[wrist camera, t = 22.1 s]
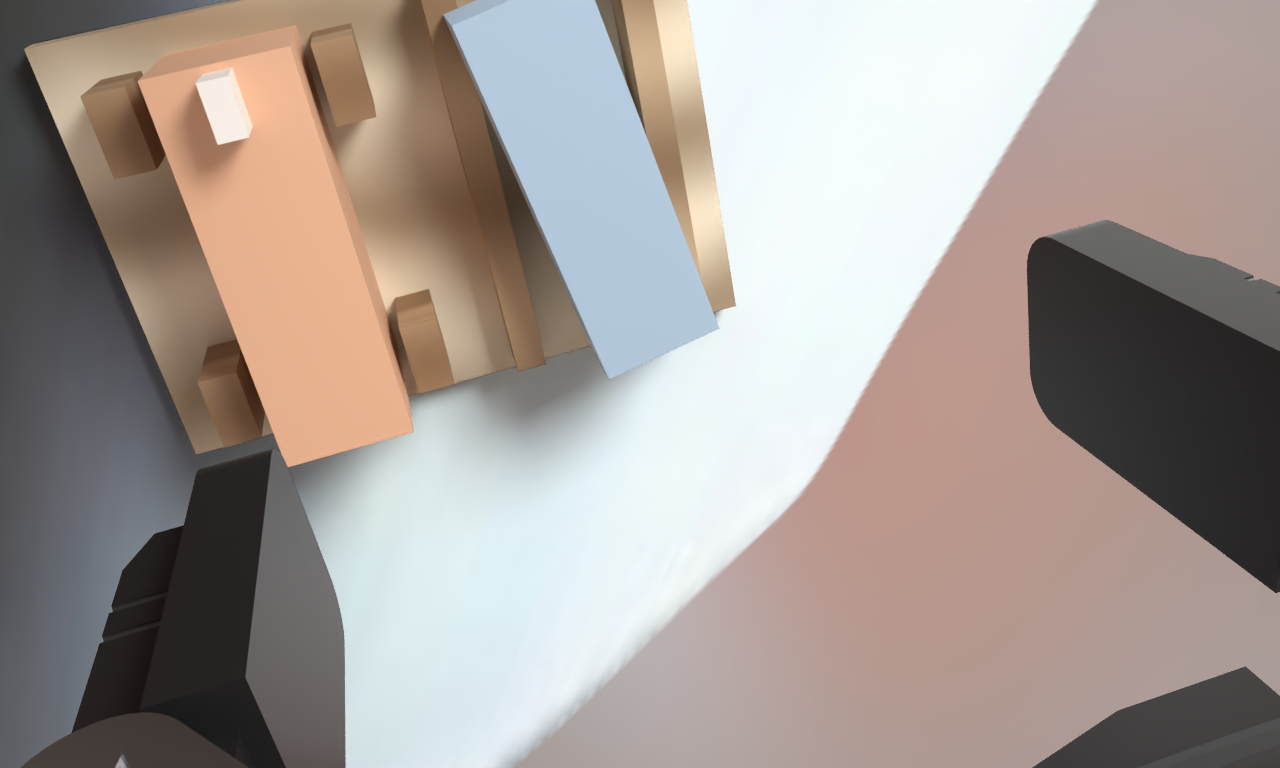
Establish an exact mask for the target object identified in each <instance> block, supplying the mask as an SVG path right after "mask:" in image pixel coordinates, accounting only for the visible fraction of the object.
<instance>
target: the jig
mask: <svg viewBox="0 0 1280 768" xmlns="http://www.w3.org/2000/svg"><path fill="white" fill-rule="evenodd" d="M473 1H475V0H232V1H227V2H223V3H218V4H214V5H209V6H204V7H200V8H195V9H191V10H186V11H182V12H177V13H173V14H168V15H164V16H159V17H155V18H150V19H146V20H141V21H136V22H132V23H127V24H123V25H118V26H114V27H109V28H105V29H100V30H96V31H91V32H87V33H82V34H78V35H73V36H68V37H64V38H59V39H55V40H50V41H46V42H41V43H37V44H32V45H30V46H28V47H26V48H25V49H24V50H25V53H26V55H27V57H28V60H29V62H30V65H31V67H32V69H33V72H34V74H35V76H36V79H37V81H38V83H39V86H40V88H41V90H42V93H43V95H44V97H45V100H46V102H47V105H48V107H49V109H50V112H51V114H52V116H53V119H54V121H55V123H56V126H57V128H58V130H59V133H60V135H61V137H62V140H63V142H64V145H65V147H66V149H67V152H68V154H69V156H70V159H71V161H72V163H73V166H74V168H75V170H76V173H77V175H78V178H79V180H80V182H81V185H82V187H83V189H84V192H85V194H86V196H87V199H88V201H89V203H90V206H91V208H92V210H93V213H94V215H95V218H96V220H97V222H98V225H99V227H100V229H101V232H102V234H103V236H104V239H105V241H106V243H107V246H108V248H109V251H110V253H111V255H112V258H113V260H114V262H115V265H116V267H117V269H118V272H119V274H120V276H121V279H122V281H123V283H124V286H125V288H126V291H127V293H128V295H129V298H130V300H131V302H132V305H133V307H134V309H135V312H136V314H137V316H138V319H139V321H140V324H141V326H142V328H143V331H144V333H145V335H146V338H147V340H148V342H149V345H150V347H151V349H152V352H153V354H154V356H155V359H156V361H157V364H158V366H159V368H160V371H161V373H162V375H163V378H164V380H165V382H166V385H167V387H168V389H169V392H170V394H171V397H172V399H173V401H174V404H175V406H176V408H177V411H178V413H179V415H180V418H181V420H182V422H183V425H184V427H185V429H186V432H187V434H188V437H189V439H190V441H191V444H192V446H193V448H194V451H195V453H196V454H200V453H204V452H207V451H211V450H214V449H218V448H222V447H224V448H226V447H229V446H233V445H237V444H240V443H244V442H248V441H251V440H255V439H258V438H262V436H265V435H269V434H273V431H272V428H271V425H270V423H269V420H268V418H267V415H266V413H265V410H264V407H263V405H262V402H261V400H260V397H259V394H258V392H257V389H256V387H255V384H254V381H253V379H252V376H251V374H250V371H249V368H248V366H247V363H246V361H245V358H244V356H243V353H242V350H241V348H240V345H239V343H238V340H237V337H236V335H235V332H234V330H233V327H232V324H231V322H230V319H229V317H228V314H227V311H226V309H225V306H224V304H223V301H222V298H221V296H220V293H219V291H218V288H217V286H216V283H215V280H214V278H213V275H212V273H211V270H210V267H209V265H208V262H207V260H206V257H205V254H204V252H203V249H202V247H201V244H200V241H199V239H198V236H197V234H196V231H195V229H194V226H193V223H192V221H191V218H190V216H189V213H188V210H187V208H186V205H185V203H184V200H183V197H182V195H181V192H180V190H179V187H178V184H177V182H176V179H175V177H174V174H173V172H172V169H171V166H170V164H169V161H168V159H167V156H166V153H165V151H164V148H163V146H162V143H161V140H160V138H159V135H158V133H157V130H156V127H155V125H154V122H153V120H152V117H151V114H150V112H149V109H148V107H147V104H146V102H145V99H144V96H143V94H142V91H141V89H140V86H139V83H138V80H139V79H140V78H141V77H142V76H143V75H144V74H145V73H146V72H147V71H148V70H149V69H150V68H151V67H152V66H153V65H154V64H155V63H156V62H157V61H158V60H160V59H161V58H162V57H163V56H164V55H166V54H171V53H175V52H180V51H184V50H189V49H193V48H197V47H202V46H206V45H211V44H215V43H219V42H224V41H228V40H233V39H237V38H242V37H246V36H250V35H255V34H259V33H264V32H268V31H272V30H277V29H281V28H286V27H290V26H295V25H296V26H297V30H298V33H299V36H300V39H301V42H302V45H303V49H304V52H305V55H306V58H307V61H308V64H309V68H310V71H311V74H312V77H313V80H314V83H315V87H316V90H317V93H318V96H319V99H320V102H321V106H322V109H323V112H324V115H325V118H326V122H327V125H328V128H329V131H330V134H331V137H332V141H333V144H334V147H335V150H336V153H337V156H338V160H339V163H340V166H341V169H342V172H343V175H344V179H345V182H346V185H347V188H348V191H349V194H350V198H351V201H352V204H353V207H354V210H355V213H356V217H357V220H358V223H359V226H360V229H361V233H362V236H363V239H364V242H365V245H366V248H367V252H368V255H369V258H370V261H371V264H372V267H373V271H374V274H375V277H376V280H377V283H378V286H379V290H380V293H381V296H382V299H383V302H384V305H385V309H386V312H387V315H388V318H389V321H390V324H391V328H392V331H393V334H394V337H395V340H396V344H397V347H398V350H399V353H400V356H401V359H402V363H403V366H404V369H405V374H406V381H407V389H408V396H410V395H414V394H418V393H419V394H422V393H425V392H429V391H433V390H436V389H440V388H443V387H447V386H451V385H454V384H455V383H458V382H461V381H465V380H469V379H472V378H476V377H479V376H483V375H487V374H490V373H494V372H498V371H501V370H505V369H509V368H512V367H516V366H517V369H518V371H522V370H526V369H530V368H533V367H537V366H540V365H544V364H546V361H545V358H548V357H552V356H556V355H559V354H563V353H567V352H570V351H574V350H577V349H581V348H585V347H588V346H590V343H589V341H588V339H587V337H586V334H585V332H584V330H583V328H582V326H581V323H580V321H579V319H578V317H577V314H576V312H575V310H574V308H573V305H572V303H571V301H570V299H569V296H568V294H567V292H566V290H565V287H564V285H563V283H562V281H561V279H560V276H559V274H558V272H557V270H556V267H555V265H554V263H553V261H552V258H551V256H550V254H549V252H548V249H547V247H546V245H545V243H544V240H543V238H542V236H541V234H540V232H539V229H538V227H537V225H536V223H535V220H534V218H533V216H532V214H531V211H530V209H529V207H528V205H527V202H526V200H525V198H524V196H523V193H522V191H521V189H520V187H519V184H518V182H517V180H516V178H515V176H514V173H513V171H512V169H511V167H510V164H509V162H508V160H507V158H506V155H505V153H504V151H503V149H502V146H501V144H500V142H499V140H498V137H497V135H496V133H495V131H494V129H493V126H492V124H491V122H490V120H489V117H488V115H487V113H486V111H485V108H484V106H483V104H482V102H481V99H480V97H479V95H478V93H477V90H476V88H475V86H474V84H473V81H472V79H471V77H470V75H469V73H468V70H467V68H466V66H465V64H464V61H463V59H462V57H461V55H460V52H459V50H458V48H457V46H456V43H455V41H454V39H453V37H452V34H451V32H450V30H449V28H448V26H447V23H446V21H445V19H444V17H443V14H446V13H448V12H450V11H452V10H455V9H457V8H459V7H461V6H464V5H466V4H468V3H471V2H473ZM595 2H596V4H597V7H598V10H599V12H600V15H601V18H602V20H603V23H604V26H605V28H606V31H607V33H608V36H609V39H610V41H611V44H612V47H613V49H614V52H615V55H616V57H617V60H618V63H619V65H620V68H621V70H622V73H623V76H624V78H625V81H626V84H627V86H628V89H629V92H630V94H631V97H632V99H633V102H634V105H635V107H636V110H637V113H638V115H639V118H640V121H641V123H642V126H643V128H644V131H645V134H646V136H647V139H648V142H649V144H650V147H651V150H652V152H653V155H654V157H655V160H656V163H657V165H658V168H659V171H660V173H661V176H662V179H663V181H664V184H665V187H666V189H667V192H668V194H669V197H670V200H671V202H672V205H673V208H674V210H675V213H676V216H677V218H678V221H679V223H680V226H681V229H682V231H683V234H684V237H685V239H686V242H687V245H688V247H689V250H690V252H691V255H692V258H693V260H694V263H695V266H696V268H697V271H698V274H699V276H700V279H701V282H702V284H703V287H704V289H705V292H706V295H707V297H708V300H709V303H710V305H711V308H712V311H713V312H715V311H719V310H723V309H726V308H730V307H734V306H736V304H735V298H734V292H733V286H732V279H731V273H730V267H729V260H728V254H727V248H726V242H725V235H724V229H723V223H722V217H721V210H720V204H719V198H718V192H717V185H716V179H715V173H714V167H713V160H712V154H711V148H710V141H709V135H708V129H707V123H706V116H705V110H704V104H703V98H702V91H701V85H700V79H699V73H698V66H697V60H696V54H695V47H694V41H693V35H692V29H691V22H690V16H689V10H688V4H687V0H595Z"/></svg>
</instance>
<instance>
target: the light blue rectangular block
mask: <svg viewBox="0 0 1280 768" xmlns="http://www.w3.org/2000/svg"><path fill="white" fill-rule="evenodd" d="M443 17H444V19H445V21H446V23H447V26H448V28H449V30H450V32H451V34H452V37H453V39H454V41H455V43H456V46H457V48H458V50H459V52H460V55H461V57H462V59H463V61H464V64H465V66H466V68H467V70H468V73H469V75H470V77H471V79H472V81H473V84H474V86H475V88H476V90H477V93H478V95H479V97H480V99H481V102H482V104H483V106H484V108H485V111H486V113H487V115H488V117H489V120H490V122H491V124H492V126H493V129H494V131H495V133H496V135H497V137H498V140H499V142H500V144H501V146H502V149H503V151H504V153H505V155H506V158H507V160H508V162H509V164H510V167H511V169H512V171H513V173H514V176H515V178H516V180H517V182H518V184H519V187H520V189H521V191H522V193H523V196H524V198H525V200H526V202H527V205H528V207H529V209H530V211H531V214H532V216H533V218H534V220H535V223H536V225H537V227H538V229H539V232H540V234H541V236H542V238H543V240H544V243H545V245H546V247H547V249H548V252H549V254H550V256H551V258H552V261H553V263H554V265H555V267H556V270H557V272H558V274H559V276H560V279H561V281H562V283H563V285H564V287H565V290H566V292H567V294H568V296H569V299H570V301H571V303H572V305H573V308H574V310H575V312H576V314H577V317H578V319H579V321H580V323H581V326H582V328H583V330H584V332H585V334H586V337H587V339H588V341H589V343H590V346H591V348H592V349H593V351H594V353H595V355H596V357H597V359H598V360H599V362H600V364H601V366H602V368H603V369H604V371H605V373H606V375H607V377H608V379H611V378H614V377H616V376H618V375H620V374H622V373H624V372H627V371H629V370H631V369H633V368H635V367H637V366H639V365H642V364H644V363H646V362H648V361H650V360H652V359H655V358H657V357H659V356H661V355H663V354H665V353H667V352H670V351H672V350H674V349H676V348H678V347H680V346H683V345H685V344H687V343H689V342H691V341H693V340H695V339H698V338H700V337H702V336H704V335H706V334H708V333H711V332H713V331H715V330H717V329H719V326H718V324H717V321H716V318H715V316H714V313H713V311H712V308H711V305H710V303H709V300H708V297H707V295H706V292H705V289H704V287H703V284H702V282H701V279H700V276H699V274H698V271H697V268H696V266H695V263H694V260H693V258H692V255H691V252H690V250H689V247H688V245H687V242H686V239H685V237H684V234H683V231H682V229H681V226H680V223H679V221H678V218H677V216H676V213H675V210H674V208H673V205H672V202H671V200H670V197H669V194H668V192H667V189H666V187H665V184H664V181H663V179H662V176H661V173H660V171H659V168H658V165H657V163H656V160H655V157H654V155H653V152H652V150H651V147H650V144H649V142H648V139H647V136H646V134H645V131H644V128H643V126H642V123H641V121H640V118H639V115H638V113H637V110H636V107H635V105H634V102H633V99H632V97H631V94H630V92H629V89H628V86H627V84H626V81H625V78H624V76H623V73H622V70H621V68H620V65H619V63H618V60H617V57H616V55H615V52H614V49H613V47H612V44H611V41H610V39H609V36H608V33H607V31H606V28H605V26H604V23H603V20H602V18H601V15H600V12H599V10H598V7H597V4H596V2H595V0H475V1H473V2H471V3H468V4H466V5H464V6H461V7H459V8H457V9H455V10H452V11H450V12H448V13H446V14H443Z"/></svg>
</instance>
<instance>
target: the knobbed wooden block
mask: <svg viewBox="0 0 1280 768" xmlns="http://www.w3.org/2000/svg"><path fill="white" fill-rule="evenodd" d="M138 83H139V86H140V89H141V91H142V94H143V96H144V99H145V102H146V104H147V107H148V109H149V112H150V114H151V117H152V120H153V122H154V125H155V127H156V130H157V133H158V135H159V138H160V140H161V143H162V146H163V148H164V151H165V153H166V156H167V159H168V161H169V164H170V166H171V169H172V172H173V174H174V177H175V179H176V182H177V184H178V187H179V190H180V192H181V195H182V197H183V200H184V203H185V205H186V208H187V210H188V213H189V216H190V218H191V221H192V223H193V226H194V229H195V231H196V234H197V236H198V239H199V241H200V244H201V247H202V249H203V252H204V254H205V257H206V260H207V262H208V265H209V267H210V270H211V273H212V275H213V278H214V280H215V283H216V286H217V288H218V291H219V293H220V296H221V298H222V301H223V304H224V306H225V309H226V311H227V314H228V317H229V319H230V322H231V324H232V327H233V330H234V332H235V335H236V337H237V340H238V343H239V345H240V348H241V350H242V353H243V356H244V358H245V361H246V363H247V366H248V368H249V371H250V374H251V376H252V379H253V381H254V384H255V387H256V389H257V392H258V394H259V397H260V400H261V402H262V405H263V407H264V410H265V413H266V415H267V418H268V420H269V423H270V425H271V428H272V431H273V433H274V436H275V438H276V441H277V444H278V446H279V449H280V451H281V454H282V456H283V458H284V460H285V462H286V464H287V466H288V467H291V466H294V465H298V464H302V463H305V462H309V461H312V460H316V459H319V458H323V457H326V456H330V455H334V454H337V453H341V452H344V451H348V450H351V449H355V448H358V447H362V446H366V445H369V444H373V443H376V442H380V441H383V440H387V439H390V438H394V437H398V436H401V435H405V434H408V433H412V432H413V425H412V418H411V410H410V403H409V396H408V389H407V381H406V374H405V369H404V366H403V363H402V359H401V356H400V353H399V350H398V347H397V344H396V340H395V337H394V334H393V331H392V328H391V324H390V321H389V318H388V315H387V312H386V309H385V305H384V302H383V299H382V296H381V293H380V290H379V286H378V283H377V280H376V277H375V274H374V271H373V267H372V264H371V261H370V258H369V255H368V252H367V248H366V245H365V242H364V239H363V236H362V233H361V229H360V226H359V223H358V220H357V217H356V213H355V210H354V207H353V204H352V201H351V198H350V194H349V191H348V188H347V185H346V182H345V179H344V175H343V172H342V169H341V166H340V163H339V160H338V156H337V153H336V150H335V147H334V144H333V141H332V137H331V134H330V131H329V128H328V125H327V122H326V118H325V115H324V112H323V109H322V106H321V102H320V99H319V96H318V93H317V90H316V87H315V83H314V80H313V77H312V74H311V71H310V68H309V64H308V61H307V58H306V55H305V52H304V49H303V45H302V42H301V39H300V36H299V33H298V30H297V26H296V25H295V26H290V27H286V28H281V29H277V30H272V31H268V32H264V33H259V34H255V35H250V36H246V37H242V38H237V39H233V40H228V41H224V42H219V43H215V44H211V45H206V46H202V47H197V48H193V49H189V50H184V51H180V52H175V53H171V54H166V55H164V56H163V57H162V58H161V59H160V60H158V61H157V62H156V63H155V64H154V65H153V66H152V67H151V68H150V69H149V70H148V71H147V72H146V73H145V74H144V75H143V76H142V77H141V78H140V79H139V80H138Z"/></svg>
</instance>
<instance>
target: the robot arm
mask: <svg viewBox="0 0 1280 768" xmlns="http://www.w3.org/2000/svg"><path fill="white" fill-rule="evenodd" d="M1027 282H1028V283H1027V285H1028V316H1029V347H1030V374H1031V381H1032V386H1033V389H1034V393H1035V395H1036V398H1037V401H1038V403H1039V405H1040V406H1041V409H1042V410H1043V412H1044V414H1045V415H1046V417H1047V418H1048V419H1049V420H1050V421H1051V422H1052V424H1053V425H1054V426H1056V427H1057V428H1058V429H1060V430H1061V431H1062V432H1063V433H1065V434H1066V435H1067V436H1069V437H1070V438H1071V439H1073V440H1074V441H1075V442H1077V443H1078V444H1079V445H1080V446H1082V447H1083V448H1084V449H1086V450H1087V451H1089V452H1090V453H1091V454H1093V455H1094V456H1095V457H1096V458H1098V459H1099V460H1100V461H1102V462H1103V463H1104V464H1106V465H1107V466H1108V467H1110V468H1111V469H1112V470H1114V471H1115V472H1116V473H1118V474H1119V475H1120V476H1122V477H1123V478H1124V479H1125V480H1127V481H1128V482H1129V483H1131V484H1132V485H1133V486H1135V487H1136V488H1137V489H1139V490H1140V491H1141V492H1143V493H1144V494H1145V495H1147V496H1148V497H1149V498H1151V499H1152V500H1153V501H1155V502H1156V503H1157V504H1159V505H1160V506H1161V507H1163V508H1164V509H1165V510H1167V511H1168V512H1169V513H1170V514H1172V515H1173V516H1175V517H1176V518H1177V519H1179V520H1180V521H1181V522H1182V523H1184V524H1185V525H1186V526H1188V527H1189V528H1190V529H1192V530H1193V531H1194V532H1196V533H1197V534H1198V535H1200V536H1201V537H1202V538H1204V539H1205V540H1206V541H1208V542H1209V543H1210V544H1212V545H1213V546H1214V547H1216V548H1217V549H1218V550H1220V551H1221V552H1222V553H1223V554H1225V555H1226V556H1227V557H1229V558H1230V559H1232V560H1233V561H1234V562H1236V563H1237V564H1238V565H1239V566H1241V567H1242V568H1243V569H1245V570H1246V571H1247V572H1249V573H1250V574H1251V575H1253V576H1254V577H1255V578H1257V579H1258V580H1259V581H1261V582H1262V583H1263V584H1264V585H1266V586H1267V587H1269V588H1270V589H1271V590H1272V591H1274V592H1275V593H1277V592H1280V287H1279V286H1277V285H1274V284H1272V283H1270V282H1267V281H1265V280H1262V279H1260V280H1256V281H1255V280H1254V277H1253V275H1251V274H1248V273H1246V272H1244V271H1241V270H1239V269H1237V268H1234V267H1232V266H1230V265H1227V264H1225V263H1223V262H1220V261H1218V260H1216V259H1212V258H1207V257H1202V256H1196V255H1191V254H1186V253H1184V252H1181V251H1179V250H1177V249H1174V248H1172V247H1170V246H1168V245H1165V244H1163V243H1160V242H1158V241H1156V240H1154V239H1151V238H1149V237H1147V236H1144V235H1142V234H1140V233H1138V232H1135V231H1133V230H1131V229H1128V228H1126V227H1124V226H1122V225H1119V224H1117V223H1114V222H1111V221H1108V220H1103V221H1099V222H1096V223H1092V224H1088V225H1085V226H1081V227H1078V228H1074V229H1070V230H1067V231H1063V232H1059V233H1056V234H1052V235H1049V236H1045V237H1042V238H1039V239H1037V240H1036V241H1035V242H1034V243H1033V244H1032V246H1031V248H1030V251H1029V254H1028V260H1027ZM112 609H113V612H112V613H109V616H108V619H107V622H106V625H105V628H104V631H103V635H102V637H103V640H104V642H103V643H100V644H99V647H98V651H97V654H96V657H95V660H94V663H93V666H92V670H91V673H90V676H89V679H88V682H87V686H86V689H85V692H84V695H83V698H82V701H81V705H80V708H79V711H78V714H77V717H76V721H75V724H74V727H73V730H72V733H71V734H69V735H67V736H65V737H63V738H62V739H60V740H58V741H56V742H55V743H53V744H52V745H50V746H49V747H47V748H45V749H44V750H42V751H41V752H40V753H38V754H37V755H36V756H34V757H33V758H32V759H30V760H29V761H28V762H26V763H25V764H24V765H23V766H22V767H21V768H345V655H344V630H343V624H342V618H341V613H340V608H339V604H338V600H337V597H336V593H335V590H334V586H333V583H332V580H331V578H330V575H329V572H328V570H327V567H326V564H325V562H324V559H323V557H322V554H321V551H320V549H319V546H318V544H317V541H316V538H315V536H314V533H313V531H312V528H311V525H310V523H309V520H308V517H307V515H306V512H305V510H304V507H303V504H302V502H301V499H300V497H299V494H298V491H297V489H296V486H295V484H294V481H293V478H292V476H291V473H290V471H289V468H288V466H287V464H286V462H285V460H284V458H283V456H282V455H281V453H280V452H279V451H278V450H277V449H272V450H268V451H265V452H261V453H257V454H254V455H250V456H247V457H243V458H239V459H236V460H232V461H229V462H225V463H221V464H218V465H214V466H211V467H207V468H203V469H200V470H198V472H197V474H196V477H195V482H194V486H193V490H192V494H191V498H190V502H189V507H188V511H187V515H186V519H185V523H184V526H180V527H177V528H173V529H170V530H166V531H163V532H159V533H156V534H154V535H153V536H152V537H151V539H150V540H149V541H148V542H147V543H146V544H145V545H144V547H143V548H142V549H141V550H140V551H139V552H138V553H137V555H136V556H135V557H134V558H133V559H132V560H131V562H130V563H129V564H128V565H127V566H126V567H125V568H124V570H123V571H122V574H121V577H120V581H119V584H118V587H117V590H116V593H115V596H114V600H113V603H112ZM1033 768H1280V696H1279V695H1278V694H1277V693H1276V692H1274V691H1273V690H1272V689H1271V688H1270V687H1269V686H1267V685H1266V684H1265V683H1264V682H1263V681H1262V680H1261V679H1259V678H1258V677H1257V676H1256V675H1255V674H1253V673H1252V672H1251V671H1250V670H1249V669H1247V667H1243V668H1240V669H1237V670H1234V671H1231V672H1228V673H1225V674H1223V675H1220V676H1217V677H1214V678H1211V679H1208V680H1206V681H1202V682H1200V683H1197V684H1194V685H1191V686H1188V687H1185V688H1182V689H1179V690H1176V691H1174V692H1171V693H1168V694H1165V695H1162V696H1160V697H1156V698H1153V699H1150V700H1148V701H1145V702H1142V703H1139V704H1136V705H1133V706H1130V707H1127V708H1124V709H1122V710H1119V711H1117V712H1115V713H1114V714H1112V715H1111V716H1109V717H1108V718H1106V719H1105V720H1103V721H1102V722H1100V723H1099V724H1097V725H1096V726H1094V727H1093V728H1091V729H1090V730H1088V731H1087V732H1085V733H1084V734H1082V735H1081V736H1079V737H1078V738H1076V739H1075V740H1073V741H1072V742H1070V743H1069V744H1067V745H1066V746H1064V747H1063V748H1061V749H1060V750H1058V751H1057V752H1055V753H1054V754H1052V755H1051V756H1049V757H1048V758H1046V759H1045V760H1043V761H1042V762H1040V763H1039V764H1037V765H1036V766H1034V767H1033Z"/></svg>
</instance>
